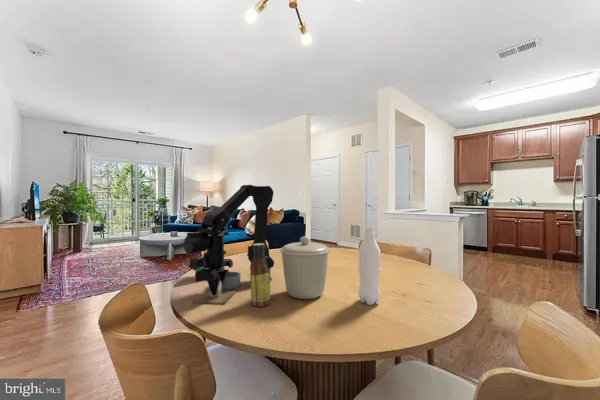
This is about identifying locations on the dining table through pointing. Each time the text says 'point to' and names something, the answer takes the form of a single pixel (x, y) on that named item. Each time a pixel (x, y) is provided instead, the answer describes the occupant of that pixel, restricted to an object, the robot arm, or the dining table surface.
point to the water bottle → (369, 268)
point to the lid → (215, 296)
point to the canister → (305, 268)
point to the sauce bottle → (259, 277)
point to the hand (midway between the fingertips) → (215, 293)
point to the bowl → (231, 281)
